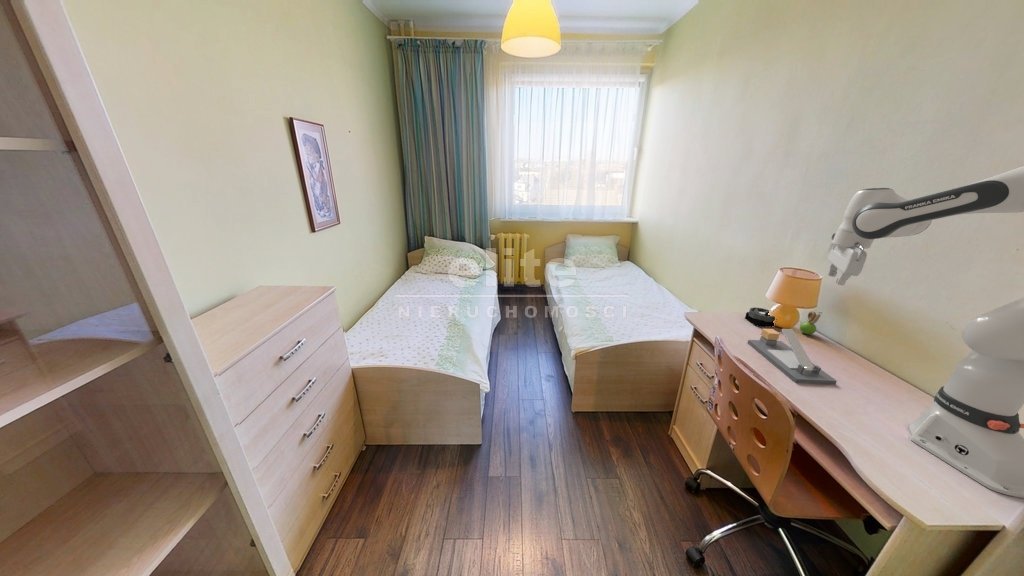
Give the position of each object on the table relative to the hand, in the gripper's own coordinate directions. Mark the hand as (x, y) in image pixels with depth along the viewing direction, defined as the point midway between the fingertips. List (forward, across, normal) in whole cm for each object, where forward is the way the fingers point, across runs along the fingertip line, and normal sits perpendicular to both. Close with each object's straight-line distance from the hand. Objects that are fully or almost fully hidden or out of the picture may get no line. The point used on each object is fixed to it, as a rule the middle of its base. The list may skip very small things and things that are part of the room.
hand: (835, 280), depth 110 cm
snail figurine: (+33, +28, -7) cm, 44 cm away
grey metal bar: (+26, -5, +4) cm, 27 cm away
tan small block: (+29, +7, +10) cm, 31 cm away
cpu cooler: (+34, +31, +9) cm, 47 cm away
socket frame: (+32, -4, +4) cm, 33 cm away
